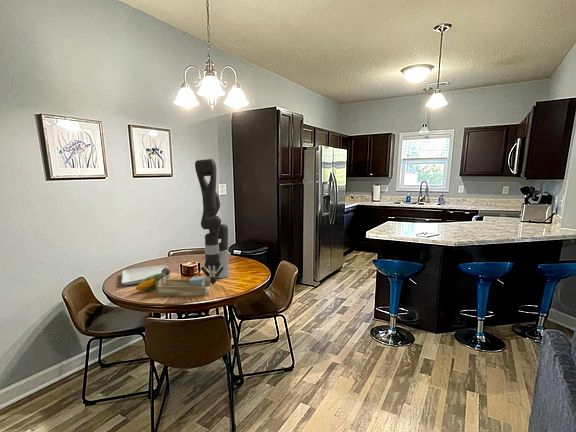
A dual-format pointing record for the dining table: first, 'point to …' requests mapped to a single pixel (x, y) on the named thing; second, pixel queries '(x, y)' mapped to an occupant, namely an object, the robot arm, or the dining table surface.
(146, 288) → the corn
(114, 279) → the dining table surface
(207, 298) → the dining table surface
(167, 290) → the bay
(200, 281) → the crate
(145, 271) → the square plate
